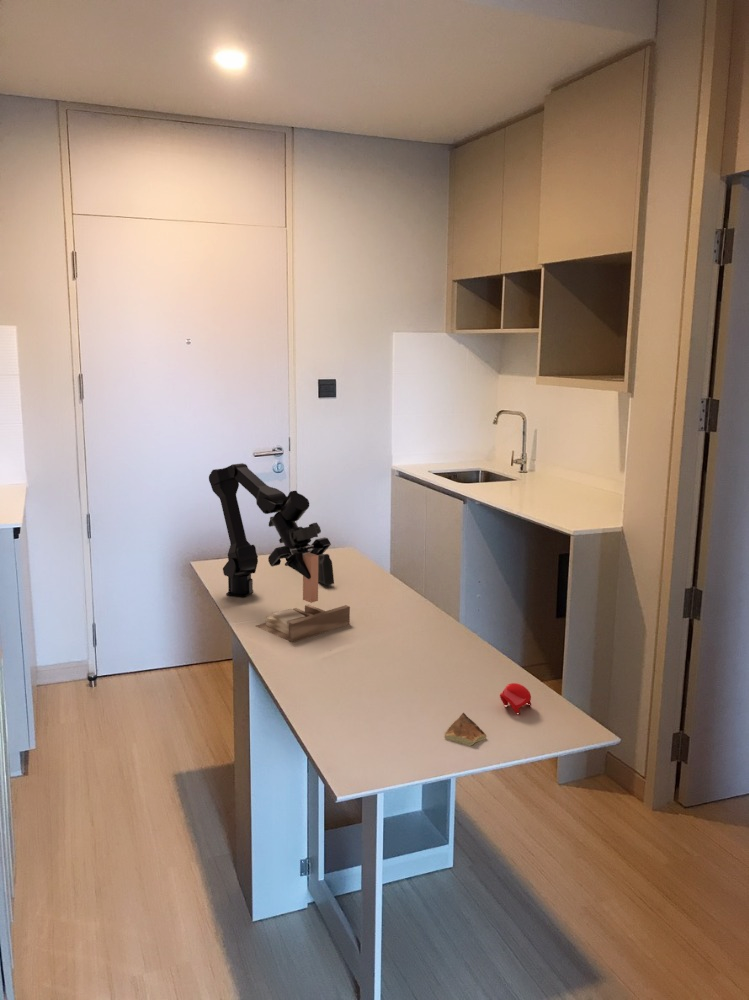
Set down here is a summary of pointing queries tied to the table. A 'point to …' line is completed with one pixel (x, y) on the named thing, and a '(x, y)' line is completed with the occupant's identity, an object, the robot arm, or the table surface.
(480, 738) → the shard
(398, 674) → the table surface
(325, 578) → the magazine
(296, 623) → the rack
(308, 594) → the block
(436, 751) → the table surface
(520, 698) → the red legged dome
